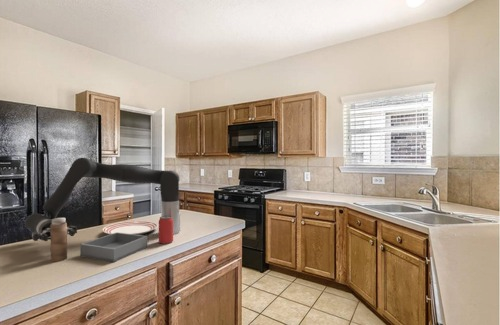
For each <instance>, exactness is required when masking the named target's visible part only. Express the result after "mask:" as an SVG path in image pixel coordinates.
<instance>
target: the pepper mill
mask: <svg viewBox="0 0 500 325" xmlns="http://www.w3.org/2000/svg"><path fill="white" fill-rule="evenodd" d="M50 227H51V240H50V262H52V263H57V262H58V263H59V262H62V261H65V260H67V259H68V235H67V227H68V223H67V221H66V217H56V218H55V219H52V224H51V225H50Z"/></svg>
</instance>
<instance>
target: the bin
mask: <svg viewBox="0 0 500 325" xmlns="http://www.w3.org/2000/svg"><path fill="white" fill-rule="evenodd" d="M79 244H80V246H79V249H80V253H79V254H80V258H81V257H82V258H89V259H94V260H99V261H105V262H110V263H115V262H118V261H120V260H123V259H125V258H127V257H130V256H131V255H134V254H135V253H138V252H141V251H142V250H145V249H146V248H147V249H148V244H149V243H148V235H143V234H142V235H134V234H126V233H118V232H116V233H113V234H110V235H109V234H106V235H104V236H102V237H98V238H95V239H92V240H88V241H85V242H82V243H79Z"/></svg>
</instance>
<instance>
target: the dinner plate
mask: <svg viewBox="0 0 500 325" xmlns="http://www.w3.org/2000/svg"><path fill="white" fill-rule="evenodd" d="M157 228H159V223H158V224H157V223H156V222H154V221H147V220H131V221H129V220H128V221H120V222H117V223H116V222H115V223H112V224H108V225H106V226H105V227H103V228H102V230H101V231H102V232H103V233H104V234H106V235H110V234H113V233H116V232H118V233H126V234H134V235H142V236H143V235H145V234H147V233H150V232H152V231H154V230H156V229H157Z"/></svg>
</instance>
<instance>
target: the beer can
mask: <svg viewBox="0 0 500 325" xmlns="http://www.w3.org/2000/svg"><path fill="white" fill-rule="evenodd" d="M158 219H159V220H158V242H159V244H161V245H165V244H166V245H167V244H171V243H173V242H174V234H173V219H172V216H162V217H161V216H160V217H159V218H158Z"/></svg>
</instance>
